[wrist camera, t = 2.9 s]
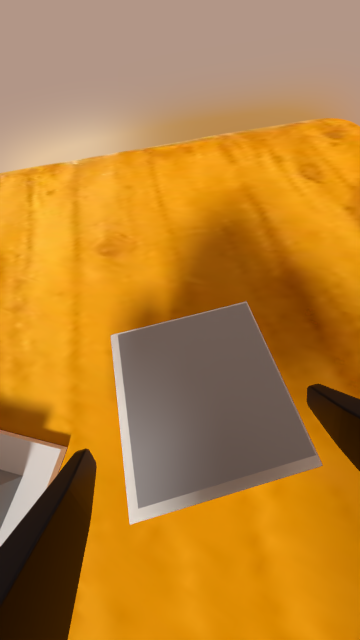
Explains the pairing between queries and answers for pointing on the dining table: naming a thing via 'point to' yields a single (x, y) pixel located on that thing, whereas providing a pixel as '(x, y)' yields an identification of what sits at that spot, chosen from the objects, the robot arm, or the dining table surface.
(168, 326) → the connector
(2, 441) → the box
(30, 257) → the dining table surface
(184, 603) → the dining table surface
